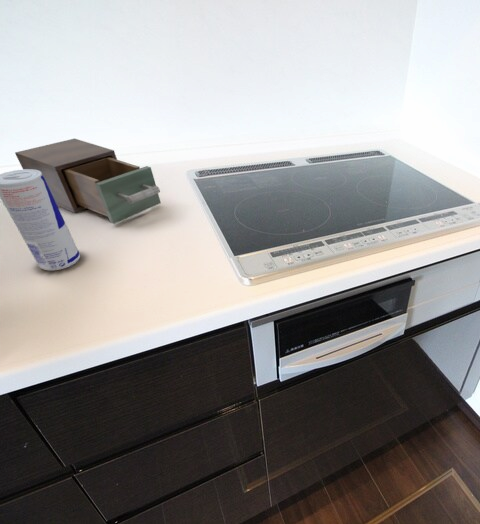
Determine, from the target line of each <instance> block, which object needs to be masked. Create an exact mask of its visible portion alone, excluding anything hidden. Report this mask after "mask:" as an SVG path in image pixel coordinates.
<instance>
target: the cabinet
mask: <svg viewBox="0 0 480 524" xmlns="http://www.w3.org/2000/svg"><path fill="white" fill-rule="evenodd" d="M14 154H15V156H16V158H17V160H18V162H19V164H20V166H21V169H22V170H23V169H33V170H38V171H40V172H41V173H42V176H43V177H44V178H45V181H46V183H47V185H48V187H49V189H50V191H51V193H52V195H53V198H54V200H55V202H56V204H57V206H58V207H59V208H62V209H64V210H66V211H69V212H71V213H74V214H77V213H79V212H82V211H84V210H87V208H85V207H83V206H80V205H78V204H77V203H76V201H75V198H74V196H73V194H72V191H71V189H70V187H69V184H68V182H67V180H66V178H65V175H64V173H63V171H62V170H63V169H66V168H70V167H73V166H77V165H80V164H83V163H87V162H90V161H94V160H97V159H101V158H104V157H110V158H113V159H117V155H116V152H115V149H111V148H107V147H104V146H101V145H97V144H94V143H91V142H87V141H85V140H81V139H78V138H71V139H66V140H62V141H58V142H53V143H50V144H49V143H48V144H46V145H41V146H37V147H33V148H28V149H23V150H19V151H15V152H14ZM117 160H118V159H117Z"/></svg>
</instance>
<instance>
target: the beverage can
mask: <svg viewBox="0 0 480 524" xmlns="http://www.w3.org/2000/svg"><path fill="white" fill-rule="evenodd" d="M0 199H1V201H2V203H3V205H4V207H5V208H6V211H7V213H8V214H9V216H10V217H11V219H12V221H13V223H14V225H15V226H16V229H17V230H18V232H19V234H20V235H21V237H22V239H23V241H24V243H25V244H26V246H27V248H28V249H29V251H30V253H31V255H32V256H33V258H34V260H35V262H36V264H37V265H38V267H39V268H40V269H42V270H44V271H59V270H64V269H66V268H69V267H71V266H73V265H74V264H76V263H77V262H78V261H79V259H80V258H81V253H80V251H79V249H78V247H77V244H76V242H75V240H74V238H73V236H72V234H71V232H70V229H69V228H68V224H67V223H66V221H65V219H64V216H63V215H62V212H61V211H60V207H59V206H57V204H56V202H55V200H54V198H53V195H52V193H51V191H50V189H49V187H48V185H47V183H46V181H45V178H44V177H43V176H42V173H41V172H40V171H38V170H33V169H23V168H22V169H15V170H10V171H5V172H3V173H0Z"/></svg>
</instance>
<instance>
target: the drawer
mask: <svg viewBox="0 0 480 524" xmlns="http://www.w3.org/2000/svg"><path fill="white" fill-rule="evenodd" d="M62 171H63V173H64V175H65V178H66V180H67V182H68V184H69V187H70V189H71V191H72V194H73V196H74V198H75V201H76V203H77V204H78V205H80V206H83V207H85V208H87V209H88V210H90V211H92V212H95V213H97V214H100V215H103V216H104V217H107V218H108V221H109V222H110V223H111V224H116V223H118V222H121V221H123V220H126V219H128V218H130V217H132V216H134V215H137V214H139V213H142V212H143V211H146V210H148V209H151V208H153V207H156V206H157V205H160V204H161V203H162V202H161V197H160V192H161V190H160V188H159V186H158V185H156V181H155V178H154V174H153V170H152V167H151V166H149V165H146V166H143V167H140V166H138V165H134V164H132V163H129V162H126V161H122V160H119V159H113V158H110V157H104V158H101V159H97V160H94V161H90V162H87V163H83V164H80V165H77V166H73V167H70V168H66V169H63V170H62ZM87 209H86V210H87Z"/></svg>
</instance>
